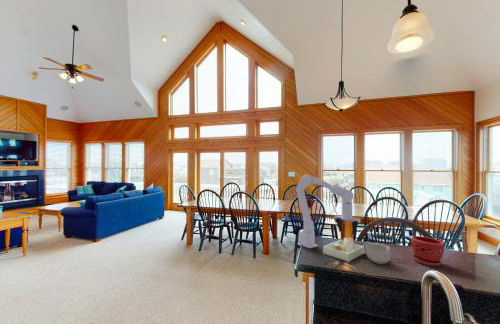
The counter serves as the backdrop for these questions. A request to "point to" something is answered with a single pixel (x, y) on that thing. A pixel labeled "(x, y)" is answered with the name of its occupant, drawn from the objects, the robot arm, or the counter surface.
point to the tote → (344, 256)
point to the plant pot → (427, 250)
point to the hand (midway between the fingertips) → (346, 232)
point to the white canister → (348, 244)
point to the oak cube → (340, 247)
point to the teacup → (378, 253)
